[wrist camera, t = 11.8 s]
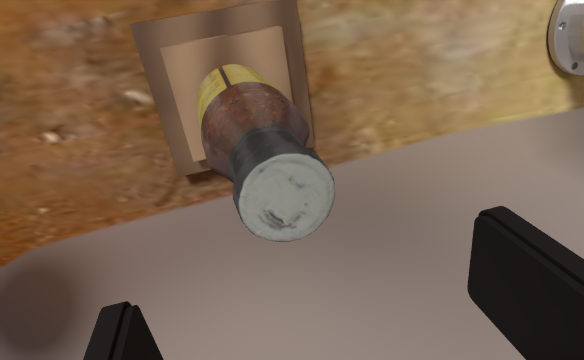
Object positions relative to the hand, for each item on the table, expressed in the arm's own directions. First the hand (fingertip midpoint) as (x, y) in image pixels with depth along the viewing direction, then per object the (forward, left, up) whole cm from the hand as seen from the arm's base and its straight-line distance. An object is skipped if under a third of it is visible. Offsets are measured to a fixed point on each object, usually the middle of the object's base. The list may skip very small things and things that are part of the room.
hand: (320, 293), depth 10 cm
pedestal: (0, 0, -29) cm, 29 cm away
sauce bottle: (0, 0, -25) cm, 25 cm away
